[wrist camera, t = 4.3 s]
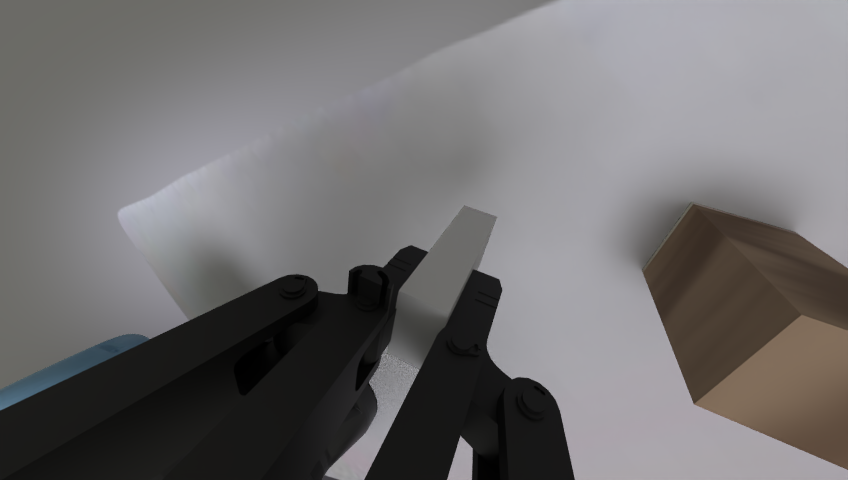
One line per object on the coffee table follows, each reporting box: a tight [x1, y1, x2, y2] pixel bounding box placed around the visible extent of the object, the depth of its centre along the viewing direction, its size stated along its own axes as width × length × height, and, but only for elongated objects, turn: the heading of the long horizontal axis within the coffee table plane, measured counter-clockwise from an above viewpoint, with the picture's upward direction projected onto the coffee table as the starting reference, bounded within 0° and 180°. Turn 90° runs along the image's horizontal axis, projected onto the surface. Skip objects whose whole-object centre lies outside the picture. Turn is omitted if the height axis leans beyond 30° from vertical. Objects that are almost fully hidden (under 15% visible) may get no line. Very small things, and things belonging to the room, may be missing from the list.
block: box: [642, 202, 848, 470], centre depth 14 cm, size 5×5×10 cm
